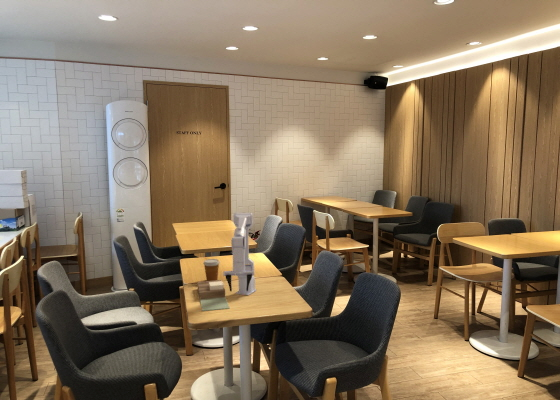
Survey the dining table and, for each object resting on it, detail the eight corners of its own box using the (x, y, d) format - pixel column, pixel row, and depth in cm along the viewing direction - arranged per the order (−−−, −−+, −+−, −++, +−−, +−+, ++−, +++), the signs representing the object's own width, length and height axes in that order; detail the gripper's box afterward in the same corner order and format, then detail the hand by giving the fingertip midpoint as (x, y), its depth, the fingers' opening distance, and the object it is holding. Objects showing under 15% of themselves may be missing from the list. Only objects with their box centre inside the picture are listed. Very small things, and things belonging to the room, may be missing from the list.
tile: (209, 286, 231) (208, 282, 231) (222, 285, 233) (221, 281, 232) (210, 290, 224) (210, 285, 224) (223, 289, 226) (223, 284, 226)
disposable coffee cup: (201, 282, 253) (200, 262, 252) (208, 277, 262) (207, 258, 261) (215, 283, 250) (215, 263, 249) (222, 278, 259) (222, 259, 258)
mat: (200, 299, 222) (200, 299, 222) (225, 297, 225) (225, 296, 225) (202, 311, 205) (202, 310, 205) (229, 308, 209) (229, 307, 209)
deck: (197, 288, 240) (197, 281, 240) (220, 286, 243) (220, 280, 243) (200, 300, 221) (199, 292, 221) (225, 297, 225) (225, 290, 224)
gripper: (222, 263, 198) (222, 292, 197) (254, 262, 199) (254, 292, 198) (223, 261, 205) (224, 290, 205) (254, 261, 206) (254, 289, 205)
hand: (239, 290), depth 202 cm, fingers open, 7 cm apart
